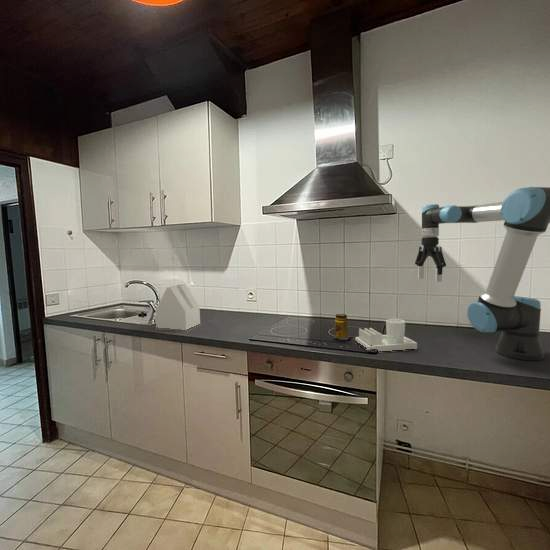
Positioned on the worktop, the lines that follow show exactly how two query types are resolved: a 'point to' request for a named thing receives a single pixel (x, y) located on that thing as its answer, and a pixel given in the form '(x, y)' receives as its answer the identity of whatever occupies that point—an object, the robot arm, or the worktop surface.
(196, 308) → the white house-shaped block
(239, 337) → the worktop surface
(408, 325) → the worktop surface
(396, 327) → the white cup
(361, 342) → the dish rack
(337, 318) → the condiment
